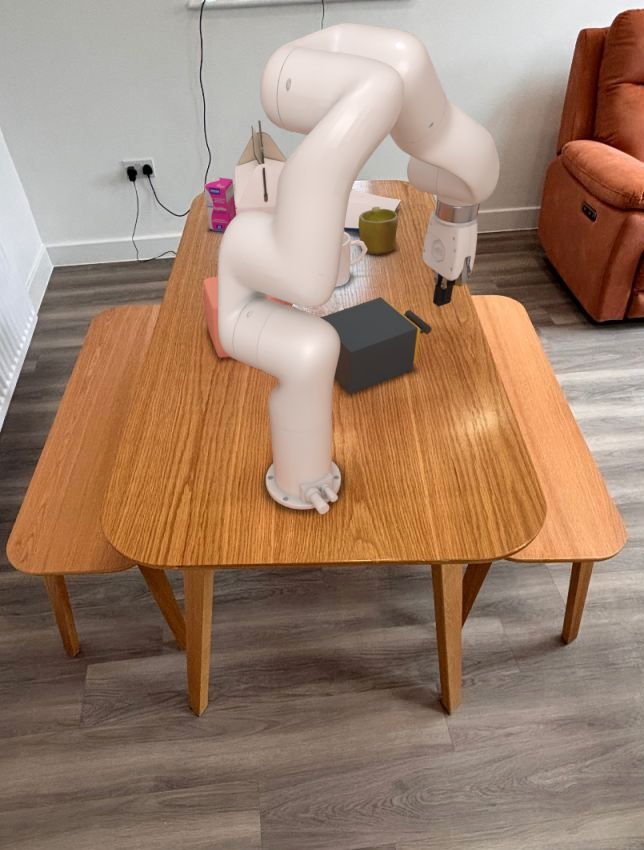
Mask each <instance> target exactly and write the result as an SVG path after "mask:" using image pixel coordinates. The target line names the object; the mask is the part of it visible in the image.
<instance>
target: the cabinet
mask: <svg viewBox="0 0 644 850" xmlns="http://www.w3.org/2000/svg"><path fill="white" fill-rule="evenodd" d="M386 301H387V300H385V299H384V298H382V296H381V297H380V296H379V297H377V298H373V299H370V300H368V301H365V302H362V303H359V304H356V305H353V306H349V307H347V308H344V309H341V310H338V311H335V312H332V313H328V314H326V315H323V316H319V317H320V318H322V319H324V320H325V321H327V322H328V323H330V324H331V325H332V326H333V327H334V328H335V330H336V331H337V333H338V335H339V338H340V353H339V358H338V363H337V367H336V371H335V376H334V380H335V381H336V382H337V383H338V384H339V385H340V386H341V387H342V388H343V389H344V390H345V391H346V392H347V393H348V394H349V395H352V394H354V393H356V392H359V391H362V390H364V389H368V388H370V387H372V386H375V385H379V384H380V383H383V382H385V381H388V380H391V379H393V378H395V377H398V376H401V375H404V374H406V373H409V372H412V371H413V370H414V369H413V368H414V364H413V362H414V354H415V346H416V338H417V330H418V328H417V327H416V326H414V325H413V324H412V323H411V322H410V321H408V320H407V319H406V318H405V317H404V316H403V315H404V314H403V315H401V314H400V313H399V312H398V311H397V310H398V309H397V310H395V309H394V308H393V307H392V306H391V305H392V304H391V305H389V304H388V303H387V302H386Z"/></svg>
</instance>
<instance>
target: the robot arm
mask: <svg viewBox="0 0 644 850" xmlns="http://www.w3.org/2000/svg"><path fill="white" fill-rule="evenodd" d="M259 96H260V103H261V107H262V110H263V112H264V114H265V116H266V117H267V119H268V120H269V121H270V122H271V123H272V124H273V125H274V126H276V127H277V128H279V129H282V130H284V131H287V132H290V133H296V134H299V135H300V134H301V135H305V137H304V138H303V139H302V141H300V143H298V145H297V146H296V147H295V149H294V150H293V151H292V152H291V153H290V155H289V156H288V158H286V159H287V161H286V163H285V164H284V166H283V168H282V171H281V173H280V176H279V180H278V187H277V198H276V208H275V215H273V214H270V213H266V212H262V211H255V210H250V211H245V212H242V213H240V214H238V215H237V216H236V217H234V219H233V220H232V221H231V222H230V223H229V225H228V226H227V228H226V230H225V232H223V235H222V238H221V240H220V245H219V249H218V257H217V260H218V261H217V276H218V336H219V341H220V344H221V346H222V348H223V350H224V351H225V352H226V353H227V354H228V355H229V356H230V357H229V358H232V359H234V360H236V361H238V362H240V363H241V364H243V365H244V364H245V365H246V366H249V367H252V368H254V369H256V370H259V371H262V372H263V373H265V374H267V375H269V376H271V377H274V378H275V379H276V380H277V381H278V382H277V384H275V386H274V387H273V388H272V389H271V391H270V394H269V397H268V401H267V410H268V417H269V418H268V419H269V430H270V431H269V432H270V441H271V442H270V443H271V450H272V451H271V452H272V462H273V463H271V465H270V466H269V468H268V469H267V471H266V475H265V486H266V490H267V492H268V494H269V496H270V497H271V498H272V499H273V500H274V501H276V502H277V503H278V504H280V505H281V506H283V507H286V508H290V509H294V510H311V509H315V510H316V511H317V512H318V514H319V515H324V514H326V513H328V512H329V511H330V505H329V504H328V503H329V502H331V503H335V502H336V501H337V500H338V498H339V495H338V492H339V491H340V488H341V484H342V475H341V471H340V469H339V467H338V465H337V463H335V462H334V460H333V392H334V391H333V390H334V381H335V378H334V376H335V371H336V367H337V363H338V358H339V353H340V338H339V335H338V333H337V331H336V330H335V328H334V327H333V326H332V325H331V324H330V323H328V322H327V321H325V320H324V319H322V318H320V317H321V316H318V315H316V314H313V313H311V312H309V311H306V310H303V309H299V308H297V307H294V306H289V305H285V304H282V303H280V302H277V301H274V300H271V299H268V298H267V295H269V296H272V297H275V298H277V299H280V300H283V301H286V302H289V303H292V304H293V305H295V306H298V307H299V306H300V307H304V308H317V307H318V308H319V307H322V306H323V305H325V304H326V303H328V302H329V301H330V300H331V298H332V297H333V294H334V292H335V290H336V288H337V287H336V283H337V278H338V272H339V265H340V257H341V250H342V242H343V235H344V232H345V230H344V227H345V219H346V213H347V207H348V200H349V196H350V192H351V189H353V186H354V183H355V182H356V181H357V180H356V179H357V178H358V176H359V174H360V172H361V171H362V169H363V168H364V166H365V164H366V163H367V162H368V160H369V159H370V158H371V157H372V155H373V154H374V153H375V151H377V149H378V148H379V146H380V145H381V144H382V142H383V141H384V140H385V139H386V138H387V137H388V135H389V136H390V137H391V139H392V141H393V142H394V144H395V145H396V146H397V147H398V149H400V150H401V151H402V152H404V153H405V154H407V155H409V156H410V157H409V159H408V162H407V167H406V176H407V180H408V182H409V184H410V185H411V186H412V187H413V188H414V189H415V190H418V191H420V192H422V193H427V194H429V195H435V196H436V200H435V207H434V209H433V210H432V212H431V215H430V217H429V220H428V224H427V228H426V231H425V237H424V242H423V247H422V248H423V249H422V254H421V260H422V261H423V263H424V264H425V265H426V266H428V267H429V268H430V269H431V270H432V272H433V282H434V285H435V286H434V292H433V299H432V303H433V304H434V305H436V307H438V308H439V307H442V306H446V305H449V304H450V303H451V302H452V297H453V292H454V291H453V290H454V287H455V286H456V287H460V288H461V287H464V286H467V284H468V276H470V275H471V274H472V271H473V268H474V263H475V258H476V252H477V242H478V221H477V219H478V215H479V211H480V206H481V204H482V203H484V202H485V201H487V200H488V199H489V198H490V197H491V196H492V195H493V193H494V192H495V190H496V188H497V185H498V182H499V178H500V171H501V170H500V169H501V165H500V158H499V157H500V156H499V153H498V150H497V146H496V143H495V140H494V138H493V136H492V134H490V132H489V131H488V130H487V129H486V127H484V126H483V125H482V124H481V123H479V121H477V120H476V119H475V118H473V117H472V116H470V115H469V114H468V113H467V112H465V111H464V110H463V109H462V108H460V107H459V106H458V105H456V104H455V103H454V102H452V101H450V100H449V99H448V97H447V95H446V93H445V90H444V88H443V86H442V83H441V81H440V78H439V76H438V73H437V71H436V68H435V65H434V64H433V60H432V59H431V56H430V55H429V52H428V49H427V48H426V45H425V44H424V43H423V42H422V40H421V39H420V38H419V37H418V36H417V35H415V34H413V33H411V32H410V31H408V30H407V31H406V30H403V29H398V28H392V27H383V26H377V25H370V24H364V23H357V22H343V23H338V24H334V25H330V26H328V27H325V28H323V29H319V30H317V31H315V32H311V33H309V34H307V35H304V36H301V37H299V38H297V39H294V40H291V41H289V42H287V43H284V44H283V45H281V46H279V47H278V48H277V49H276V50H274V52H273V53H272V54H271V55H270V57H269V58H268V60H267V62H266V63H265V66H264V68H263V69H262V73H261V77H260V85H259Z"/></svg>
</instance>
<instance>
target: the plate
mask: <svg viewBox="0 0 644 850" xmlns="http://www.w3.org/2000/svg"><path fill="white" fill-rule="evenodd" d="M401 203H402V200H401V199H399V198H393V197H386V196H381V195H378V194H373V193H368V192H364V191H360V190H357V189H354V188H352V189H351V192H350V196H349V200H348V207H347V213H346V219H345V227H344V231H347V232H349V231H350V232H359V216H360V215H361V214H362V213H363V212H366V211H369V210H372V208H373V207H380V209H389V210H393V211H394V212H396V211H397V209H398V207H399V206H400V204H401Z"/></svg>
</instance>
